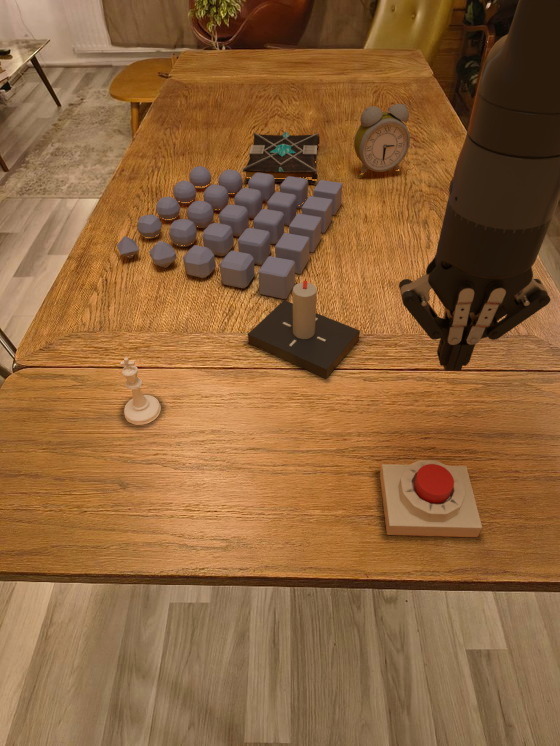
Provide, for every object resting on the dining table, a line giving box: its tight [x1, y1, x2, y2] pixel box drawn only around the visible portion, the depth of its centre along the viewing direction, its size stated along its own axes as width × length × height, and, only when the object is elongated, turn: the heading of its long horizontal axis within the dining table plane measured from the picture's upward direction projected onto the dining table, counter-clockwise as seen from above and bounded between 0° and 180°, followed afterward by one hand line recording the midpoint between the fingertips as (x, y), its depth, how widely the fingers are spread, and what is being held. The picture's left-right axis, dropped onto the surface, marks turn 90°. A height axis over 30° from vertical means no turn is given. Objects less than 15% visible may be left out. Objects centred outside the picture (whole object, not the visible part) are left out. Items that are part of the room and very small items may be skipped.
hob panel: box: [247, 299, 361, 380], centre depth 79 cm, size 14×10×2 cm
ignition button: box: [414, 464, 454, 504], centre depth 57 cm, size 4×4×2 cm
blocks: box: [116, 165, 343, 300], centre depth 101 cm, size 35×34×5 cm
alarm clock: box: [353, 103, 411, 179], centre depth 115 cm, size 12×7×15 cm, turn 102°
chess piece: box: [119, 357, 162, 426], centre depth 67 cm, size 5×5×10 cm
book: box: [241, 131, 321, 186], centre depth 122 cm, size 22×17×5 cm
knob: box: [292, 280, 318, 339], centre depth 75 cm, size 3×3×8 cm
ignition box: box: [379, 459, 483, 538], centre depth 59 cm, size 10×8×4 cm
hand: (450, 364), depth 51 cm, fingers closed
